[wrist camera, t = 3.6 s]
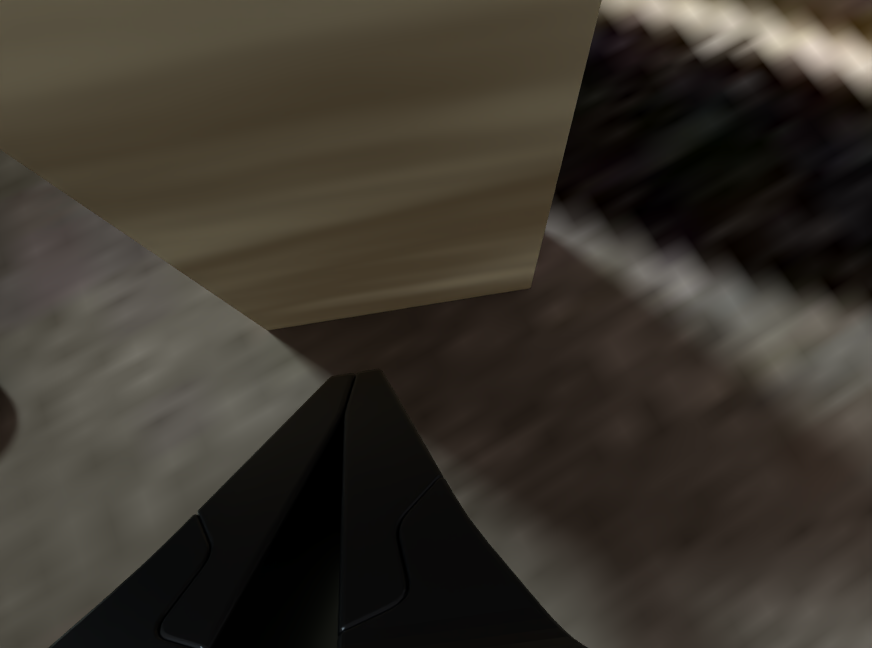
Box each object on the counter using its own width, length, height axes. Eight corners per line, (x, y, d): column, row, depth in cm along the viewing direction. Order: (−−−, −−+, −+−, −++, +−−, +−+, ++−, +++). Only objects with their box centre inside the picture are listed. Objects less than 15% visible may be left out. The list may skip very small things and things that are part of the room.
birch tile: (530, 287, 16) (638, -155, 5) (267, 330, 17) (-208, 8, 5) (515, 212, 17) (579, -332, 6) (263, 254, 17) (-166, -177, 6)
